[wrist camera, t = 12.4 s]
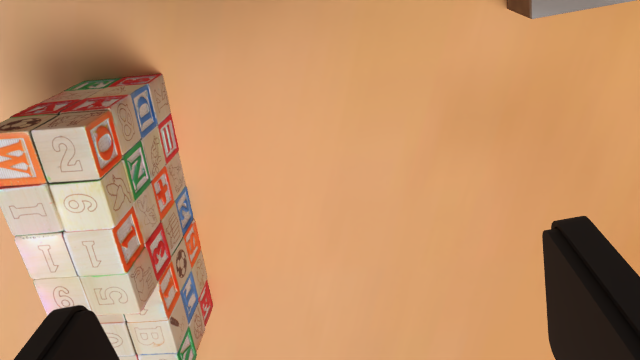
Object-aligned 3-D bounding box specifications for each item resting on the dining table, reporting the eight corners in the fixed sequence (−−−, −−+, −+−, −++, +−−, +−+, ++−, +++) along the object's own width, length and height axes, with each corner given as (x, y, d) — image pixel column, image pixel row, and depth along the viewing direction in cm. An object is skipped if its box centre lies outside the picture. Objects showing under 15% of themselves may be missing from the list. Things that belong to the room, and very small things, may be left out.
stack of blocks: (216, 305, 46) (174, 421, 35) (149, 308, 47) (87, 423, 35) (162, 71, 37) (83, 126, 26) (81, 78, 38) (-32, 135, 27)
